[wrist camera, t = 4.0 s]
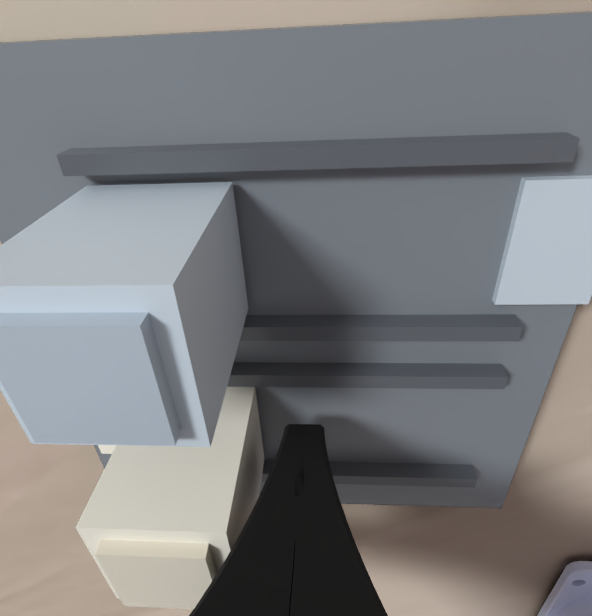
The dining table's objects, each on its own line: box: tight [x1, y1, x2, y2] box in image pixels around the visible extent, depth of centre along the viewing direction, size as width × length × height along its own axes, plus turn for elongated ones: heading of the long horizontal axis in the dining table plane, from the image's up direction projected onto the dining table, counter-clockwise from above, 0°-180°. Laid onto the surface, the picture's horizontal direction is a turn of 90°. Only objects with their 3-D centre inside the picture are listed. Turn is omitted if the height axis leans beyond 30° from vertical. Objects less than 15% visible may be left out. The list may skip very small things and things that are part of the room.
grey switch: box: [0, 182, 248, 447], centre depth 8 cm, size 3×3×4 cm
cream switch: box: [76, 387, 264, 609], centre depth 11 cm, size 3×3×4 cm
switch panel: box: [0, 12, 592, 508], centre depth 11 cm, size 14×13×2 cm
